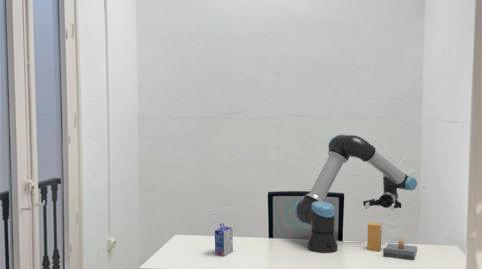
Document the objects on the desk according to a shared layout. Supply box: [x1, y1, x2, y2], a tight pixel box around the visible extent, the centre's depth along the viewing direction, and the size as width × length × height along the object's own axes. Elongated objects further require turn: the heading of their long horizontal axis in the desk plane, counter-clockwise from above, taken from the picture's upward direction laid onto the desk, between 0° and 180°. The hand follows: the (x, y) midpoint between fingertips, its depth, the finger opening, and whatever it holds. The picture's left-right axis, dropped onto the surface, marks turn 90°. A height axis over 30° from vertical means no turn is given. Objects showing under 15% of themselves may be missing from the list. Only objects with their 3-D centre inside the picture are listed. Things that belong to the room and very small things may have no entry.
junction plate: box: [382, 237, 418, 261], centre depth 230 cm, size 14×20×7 cm
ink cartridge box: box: [214, 222, 234, 257], centre depth 225 cm, size 10×6×14 cm, turn 155°
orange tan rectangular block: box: [366, 222, 383, 252], centre depth 237 cm, size 6×6×13 cm
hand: (378, 207), depth 244 cm, fingers open, 13 cm apart
